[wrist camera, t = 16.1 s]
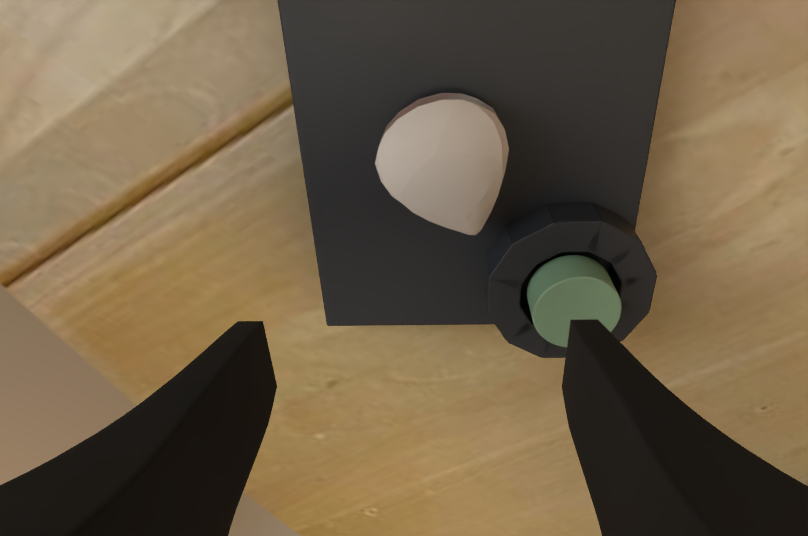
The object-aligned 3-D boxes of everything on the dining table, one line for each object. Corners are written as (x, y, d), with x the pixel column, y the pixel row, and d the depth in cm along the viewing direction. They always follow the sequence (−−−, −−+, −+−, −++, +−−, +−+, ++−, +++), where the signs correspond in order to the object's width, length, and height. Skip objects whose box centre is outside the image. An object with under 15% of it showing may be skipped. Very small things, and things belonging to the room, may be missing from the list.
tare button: (604, 322, 21) (615, 348, 20) (524, 322, 21) (529, 348, 20) (615, 253, 20) (628, 276, 18) (529, 254, 20) (535, 277, 19)
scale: (619, 312, 24) (640, 358, 22) (333, 315, 25) (321, 359, 22) (689, -83, 17) (734, -86, 14) (279, -59, 18) (252, -57, 15)
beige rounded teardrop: (481, 64, 18) (487, 83, 16) (530, 198, 20) (540, 230, 18) (361, 118, 19) (351, 142, 17) (420, 238, 21) (418, 273, 19)
